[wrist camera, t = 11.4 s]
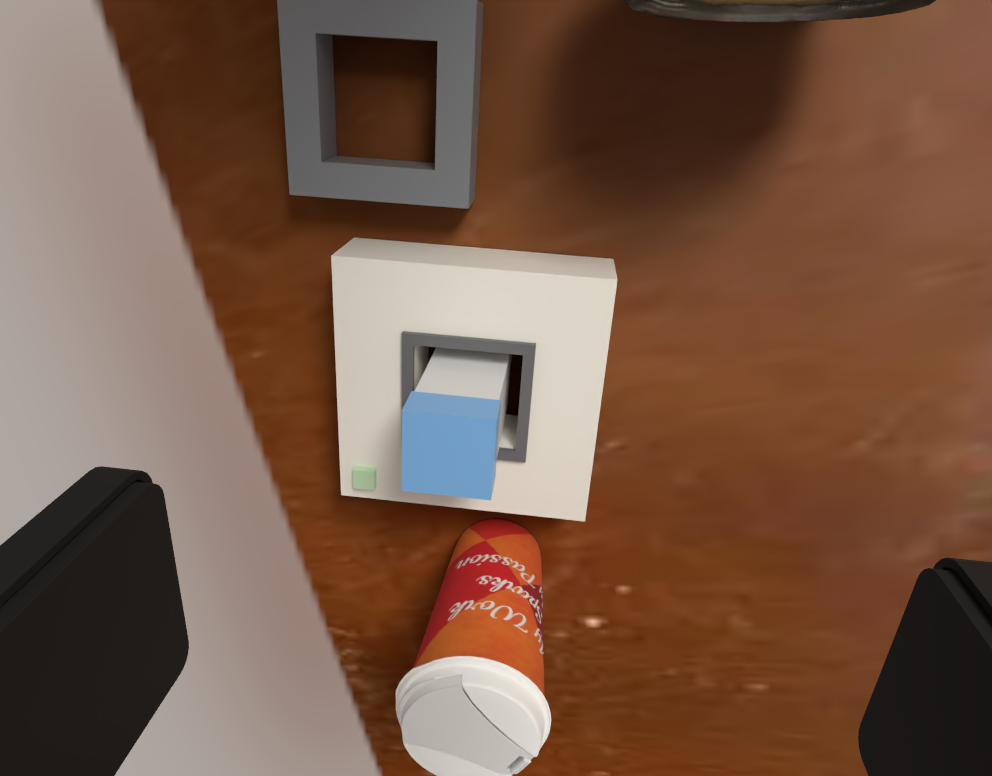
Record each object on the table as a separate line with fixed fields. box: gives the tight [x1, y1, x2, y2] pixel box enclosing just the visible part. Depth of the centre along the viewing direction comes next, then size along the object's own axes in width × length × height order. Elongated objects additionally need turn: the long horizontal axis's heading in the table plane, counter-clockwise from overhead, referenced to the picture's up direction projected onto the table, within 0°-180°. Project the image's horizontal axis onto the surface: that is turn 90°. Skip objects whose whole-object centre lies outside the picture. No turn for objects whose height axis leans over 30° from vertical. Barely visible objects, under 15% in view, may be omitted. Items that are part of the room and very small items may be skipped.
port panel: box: [331, 238, 617, 521], centre depth 39 cm, size 14×14×4 cm
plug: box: [401, 347, 512, 500], centre depth 36 cm, size 4×4×10 cm
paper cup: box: [396, 519, 551, 776], centre depth 40 cm, size 8×8×14 cm
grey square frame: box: [277, 0, 484, 209], centre depth 34 cm, size 9×9×2 cm
